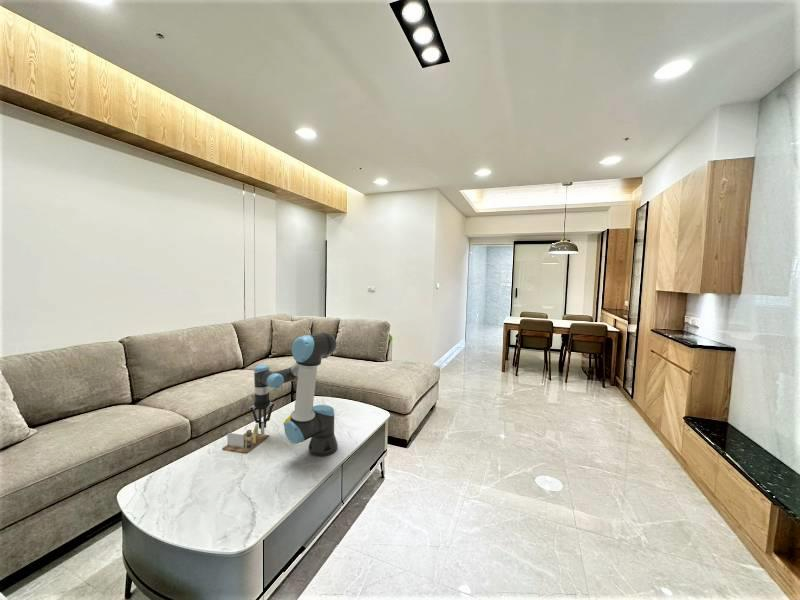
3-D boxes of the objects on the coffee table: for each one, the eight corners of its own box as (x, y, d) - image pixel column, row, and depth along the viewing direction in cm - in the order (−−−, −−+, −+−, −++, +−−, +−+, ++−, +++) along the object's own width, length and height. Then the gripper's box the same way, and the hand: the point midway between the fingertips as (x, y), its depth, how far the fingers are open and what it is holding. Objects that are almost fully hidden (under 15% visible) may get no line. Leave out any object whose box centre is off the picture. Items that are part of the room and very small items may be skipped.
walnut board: (269, 436, 188) (269, 435, 188) (246, 453, 169) (246, 451, 169) (246, 433, 191) (246, 432, 191) (222, 450, 173) (222, 448, 173)
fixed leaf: (252, 445, 176) (252, 430, 175) (247, 449, 172) (247, 433, 171) (233, 442, 178) (232, 427, 178) (227, 446, 174) (227, 430, 174)
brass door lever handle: (254, 446, 174) (254, 433, 174) (246, 447, 173) (246, 434, 173) (258, 435, 186) (258, 424, 186) (250, 436, 185) (250, 424, 185)
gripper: (272, 389, 190) (273, 428, 192) (248, 392, 183) (249, 433, 185) (275, 393, 183) (275, 433, 185) (250, 397, 177) (250, 439, 178)
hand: (262, 433), depth 185 cm, fingers closed
